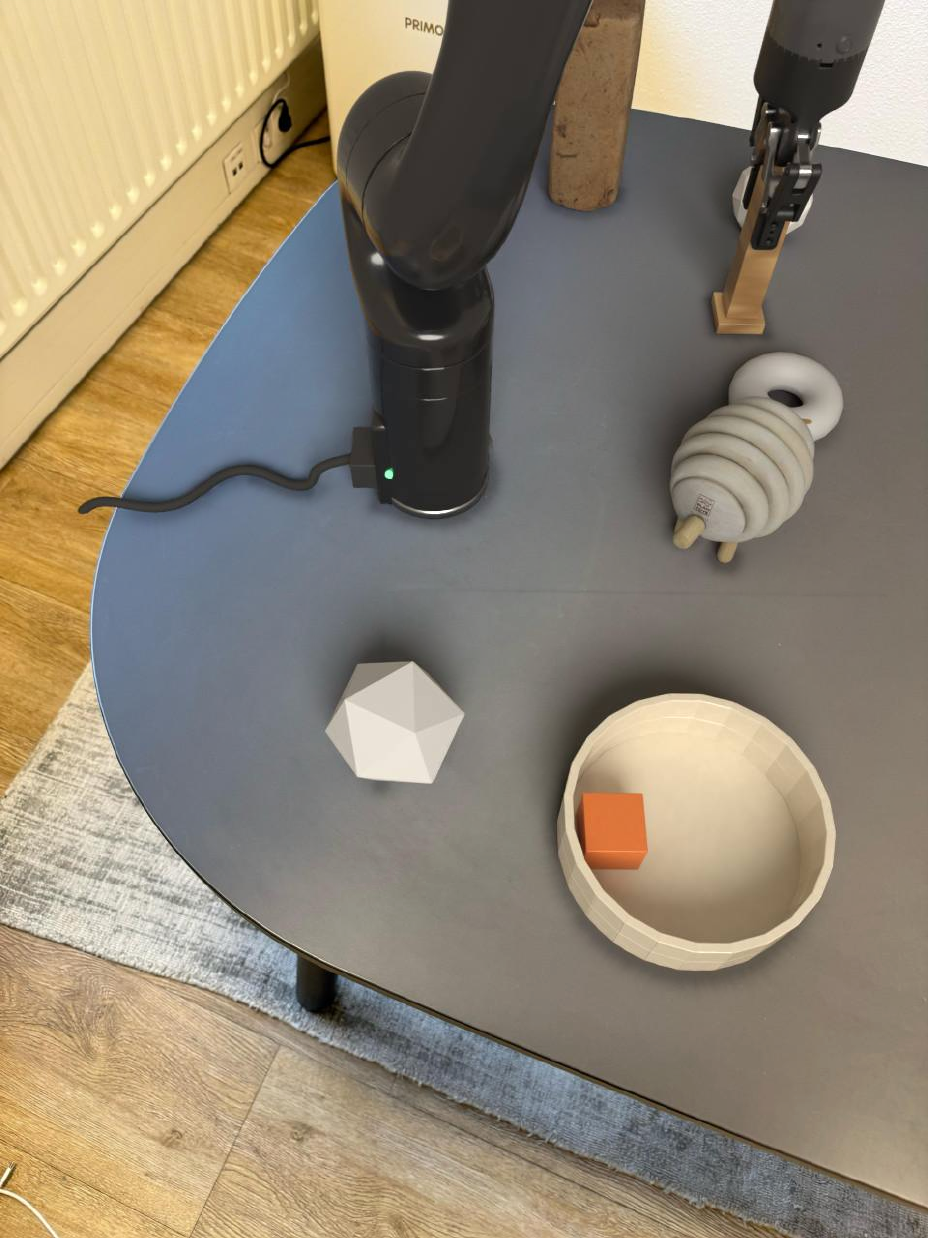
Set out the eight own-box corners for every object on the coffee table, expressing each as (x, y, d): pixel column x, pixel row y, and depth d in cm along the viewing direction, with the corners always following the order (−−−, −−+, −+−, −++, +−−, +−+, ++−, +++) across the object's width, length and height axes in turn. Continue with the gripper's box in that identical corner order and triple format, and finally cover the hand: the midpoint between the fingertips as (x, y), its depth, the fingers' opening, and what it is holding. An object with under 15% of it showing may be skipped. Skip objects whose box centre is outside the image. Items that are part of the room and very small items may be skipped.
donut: (847, 453, 85) (822, 369, 90) (861, 428, 82) (835, 341, 87) (734, 456, 85) (715, 371, 90) (744, 430, 82) (724, 344, 87)
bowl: (561, 970, 63) (570, 951, 58) (552, 727, 72) (559, 691, 66) (826, 974, 63) (859, 955, 58) (785, 730, 72) (810, 694, 66)
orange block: (579, 869, 66) (585, 851, 62) (576, 812, 68) (582, 792, 64) (638, 870, 66) (648, 852, 62) (633, 813, 68) (642, 793, 64)
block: (612, 222, 101) (643, 22, 83) (541, 211, 101) (557, 11, 84) (626, 159, 106) (659, -41, 89) (559, 149, 107) (578, -51, 90)
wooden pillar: (716, 333, 92) (758, 192, 79) (710, 301, 95) (751, 159, 82) (762, 334, 92) (812, 193, 79) (755, 302, 95) (803, 159, 82)
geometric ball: (765, 241, 103) (822, 176, 99) (776, 266, 97) (838, 198, 93) (711, 197, 101) (767, 129, 97) (720, 220, 95) (780, 148, 91)
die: (424, 674, 75) (333, 625, 68) (506, 708, 68) (416, 658, 61) (375, 775, 74) (278, 737, 66) (454, 819, 67) (356, 782, 60)
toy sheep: (819, 482, 83) (865, 390, 74) (734, 623, 76) (773, 541, 67) (708, 430, 86) (739, 335, 77) (616, 561, 79) (638, 475, 70)
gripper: (754, -27, 74) (706, 175, 88) (784, 82, 66) (725, 282, 81) (853, -26, 74) (788, 176, 88) (893, 83, 66) (815, 283, 81)
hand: (758, 226), depth 85 cm, fingers open, 4 cm apart
